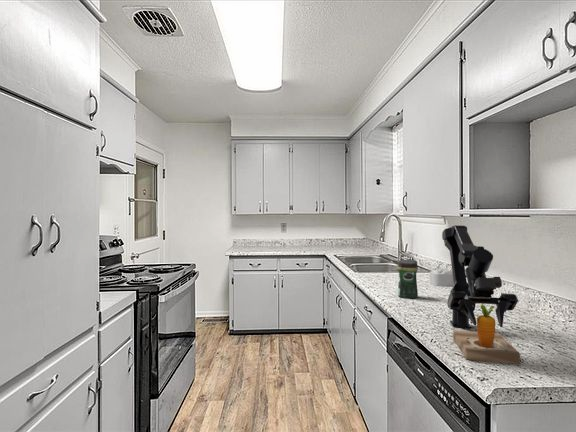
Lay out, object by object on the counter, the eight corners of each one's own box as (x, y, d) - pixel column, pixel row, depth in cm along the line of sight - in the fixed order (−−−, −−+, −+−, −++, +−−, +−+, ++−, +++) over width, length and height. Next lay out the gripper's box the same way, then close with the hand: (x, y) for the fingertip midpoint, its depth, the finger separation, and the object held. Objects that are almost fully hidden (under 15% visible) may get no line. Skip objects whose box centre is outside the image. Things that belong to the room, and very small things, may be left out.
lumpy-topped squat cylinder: (428, 282, 228) (428, 268, 227) (450, 283, 228) (450, 268, 227) (434, 286, 217) (435, 271, 217) (457, 286, 217) (458, 271, 217)
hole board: (453, 339, 128) (453, 330, 128) (498, 342, 125) (498, 333, 125) (466, 359, 110) (466, 349, 110) (519, 364, 107) (519, 353, 107)
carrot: (494, 352, 116) (494, 303, 116) (495, 357, 112) (496, 306, 112) (476, 349, 118) (476, 301, 118) (477, 355, 114) (477, 304, 114)
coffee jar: (416, 295, 193) (417, 259, 193) (418, 299, 186) (419, 261, 185) (396, 294, 195) (397, 258, 195) (398, 298, 188) (398, 260, 187)
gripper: (451, 265, 120) (460, 309, 109) (516, 267, 116) (531, 313, 106) (445, 285, 128) (453, 328, 117) (505, 288, 124) (519, 332, 114)
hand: (488, 325), depth 113 cm, fingers open, 7 cm apart
